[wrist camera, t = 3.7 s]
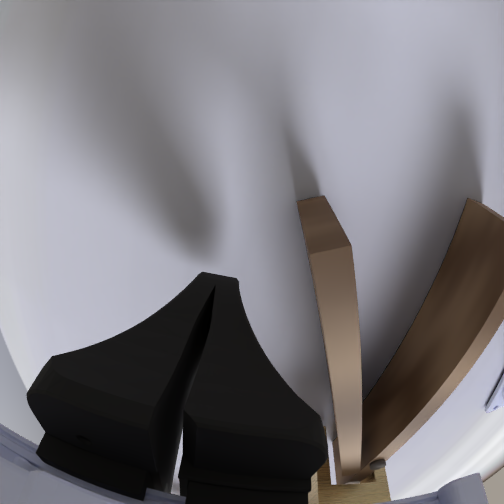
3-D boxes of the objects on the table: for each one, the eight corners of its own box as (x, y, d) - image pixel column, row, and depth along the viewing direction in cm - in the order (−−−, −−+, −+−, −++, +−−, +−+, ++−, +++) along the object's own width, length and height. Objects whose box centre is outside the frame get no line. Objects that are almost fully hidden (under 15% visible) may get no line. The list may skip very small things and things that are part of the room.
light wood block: (363, 440, 18) (375, 516, 12) (304, 439, 18) (307, 522, 12) (376, 426, 17) (391, 507, 11) (313, 425, 17) (319, 515, 11)
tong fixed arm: (344, 442, 18) (351, 493, 15) (332, 442, 18) (337, 493, 15) (483, 204, 10) (546, 248, 6) (467, 197, 10) (532, 242, 6)
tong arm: (351, 418, 16) (360, 472, 13) (335, 421, 17) (342, 476, 13) (324, 195, 10) (351, 245, 7) (296, 201, 11) (309, 254, 7)
